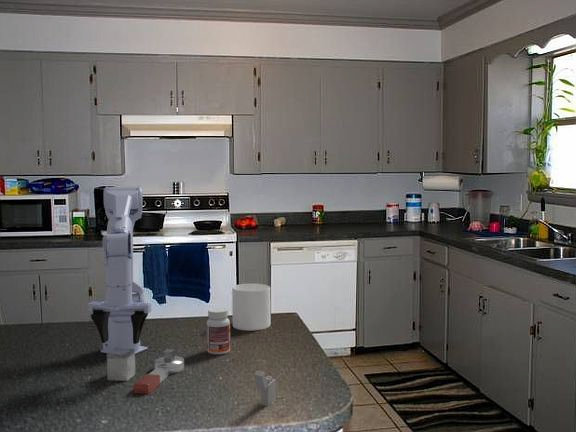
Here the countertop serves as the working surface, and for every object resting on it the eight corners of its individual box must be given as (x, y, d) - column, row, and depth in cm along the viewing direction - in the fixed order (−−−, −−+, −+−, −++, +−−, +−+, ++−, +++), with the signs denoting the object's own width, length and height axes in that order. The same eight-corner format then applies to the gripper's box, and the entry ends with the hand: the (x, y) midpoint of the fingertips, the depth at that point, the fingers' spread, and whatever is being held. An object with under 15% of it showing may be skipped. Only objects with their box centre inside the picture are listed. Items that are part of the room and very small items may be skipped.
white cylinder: (228, 329, 178) (227, 290, 177) (237, 319, 190) (237, 282, 189) (266, 331, 176) (266, 291, 175) (273, 321, 188) (273, 284, 187)
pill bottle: (234, 352, 157) (233, 310, 156) (213, 356, 153) (212, 313, 152) (223, 346, 162) (223, 305, 161) (203, 350, 158) (202, 308, 157)
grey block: (107, 380, 137) (106, 354, 136) (116, 372, 142) (115, 348, 141) (127, 380, 136) (126, 355, 136) (135, 373, 141) (134, 348, 140)
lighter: (268, 397, 126) (268, 361, 126) (276, 398, 126) (276, 362, 125) (253, 410, 120) (253, 372, 119) (261, 411, 119) (261, 373, 118)
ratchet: (162, 363, 148) (161, 345, 147) (188, 365, 146) (188, 347, 146) (126, 392, 129) (125, 371, 129) (156, 394, 128) (155, 373, 127)
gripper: (81, 287, 134) (83, 346, 135) (143, 289, 132) (144, 348, 133) (95, 281, 141) (96, 337, 142) (153, 282, 139) (155, 339, 140)
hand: (120, 342), depth 138 cm, fingers open, 7 cm apart
